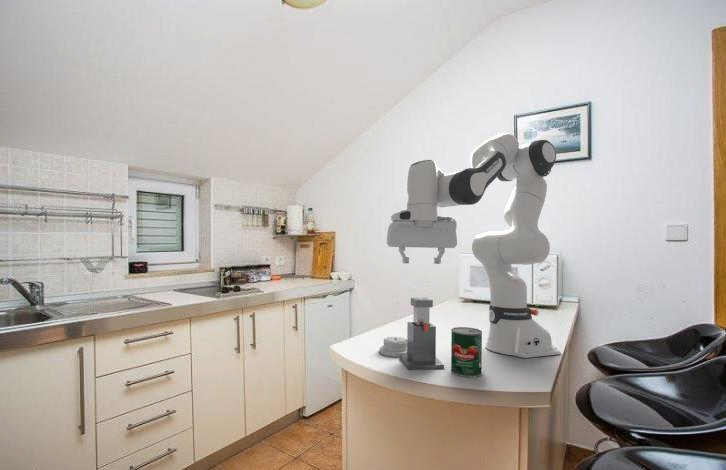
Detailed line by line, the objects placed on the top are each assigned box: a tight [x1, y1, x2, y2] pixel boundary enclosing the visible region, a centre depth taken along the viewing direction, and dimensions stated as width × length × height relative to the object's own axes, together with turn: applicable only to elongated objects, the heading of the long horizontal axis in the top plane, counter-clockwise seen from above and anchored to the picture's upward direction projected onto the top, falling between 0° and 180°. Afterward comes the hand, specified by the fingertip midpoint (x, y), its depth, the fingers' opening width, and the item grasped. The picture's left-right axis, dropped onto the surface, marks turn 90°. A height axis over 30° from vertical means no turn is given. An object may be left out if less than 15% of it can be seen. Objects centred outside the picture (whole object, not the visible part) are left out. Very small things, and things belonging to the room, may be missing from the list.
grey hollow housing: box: [399, 321, 445, 371], centre depth 100 cm, size 10×10×12 cm
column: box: [410, 297, 434, 326], centre depth 100 cm, size 5×5×17 cm
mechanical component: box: [379, 336, 407, 358], centre depth 110 cm, size 10×4×10 cm
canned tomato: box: [450, 326, 483, 378], centre depth 93 cm, size 8×8×11 cm
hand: (421, 263), depth 101 cm, fingers open, 8 cm apart
